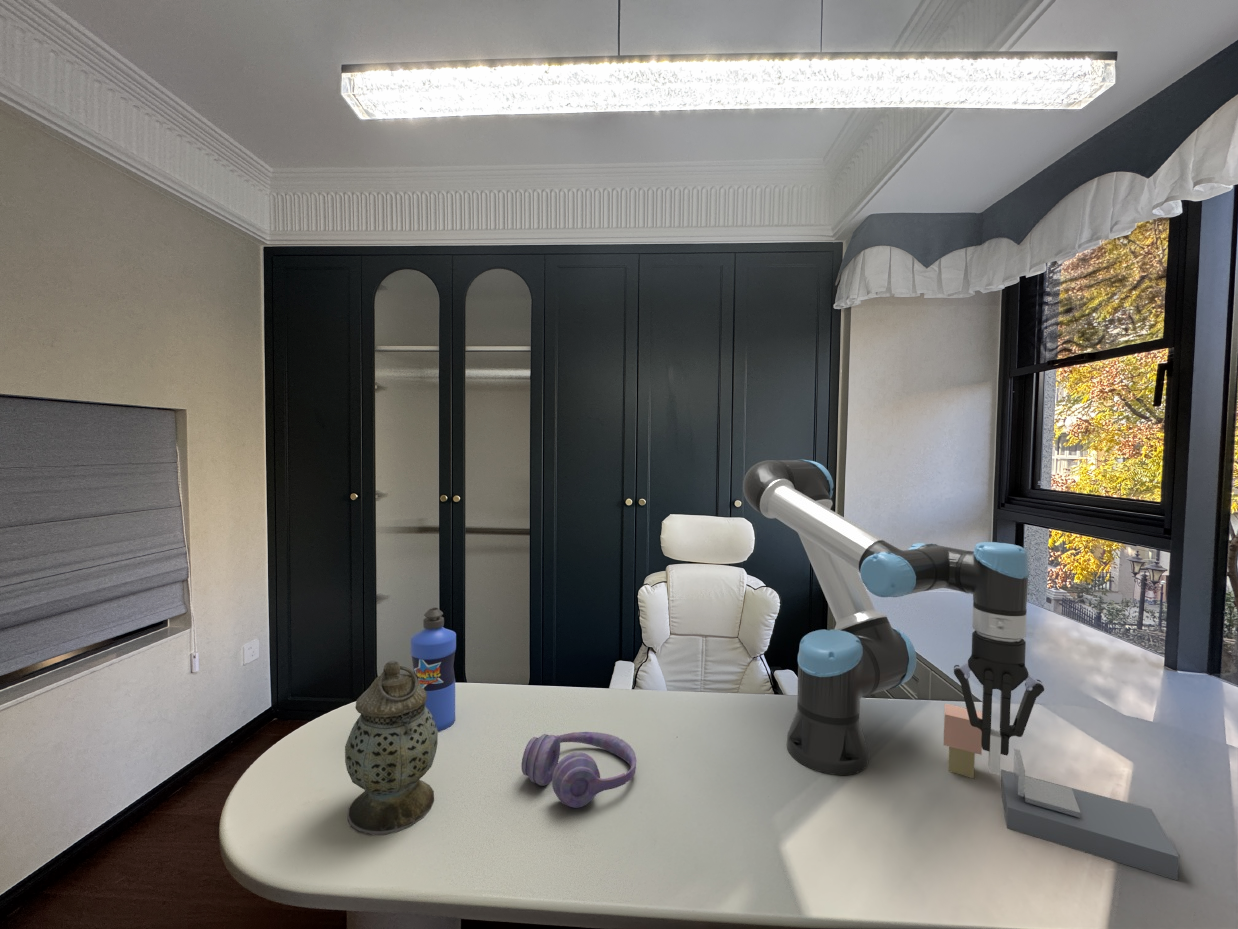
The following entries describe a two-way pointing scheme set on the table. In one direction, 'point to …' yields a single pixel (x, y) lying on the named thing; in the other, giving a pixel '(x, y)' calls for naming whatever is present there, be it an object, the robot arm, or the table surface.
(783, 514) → the robot arm
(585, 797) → the headphones
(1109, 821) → the socket block
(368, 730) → the lantern
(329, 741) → the table surface
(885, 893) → the table surface
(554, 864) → the table surface
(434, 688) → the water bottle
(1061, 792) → the shutter
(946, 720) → the plug
